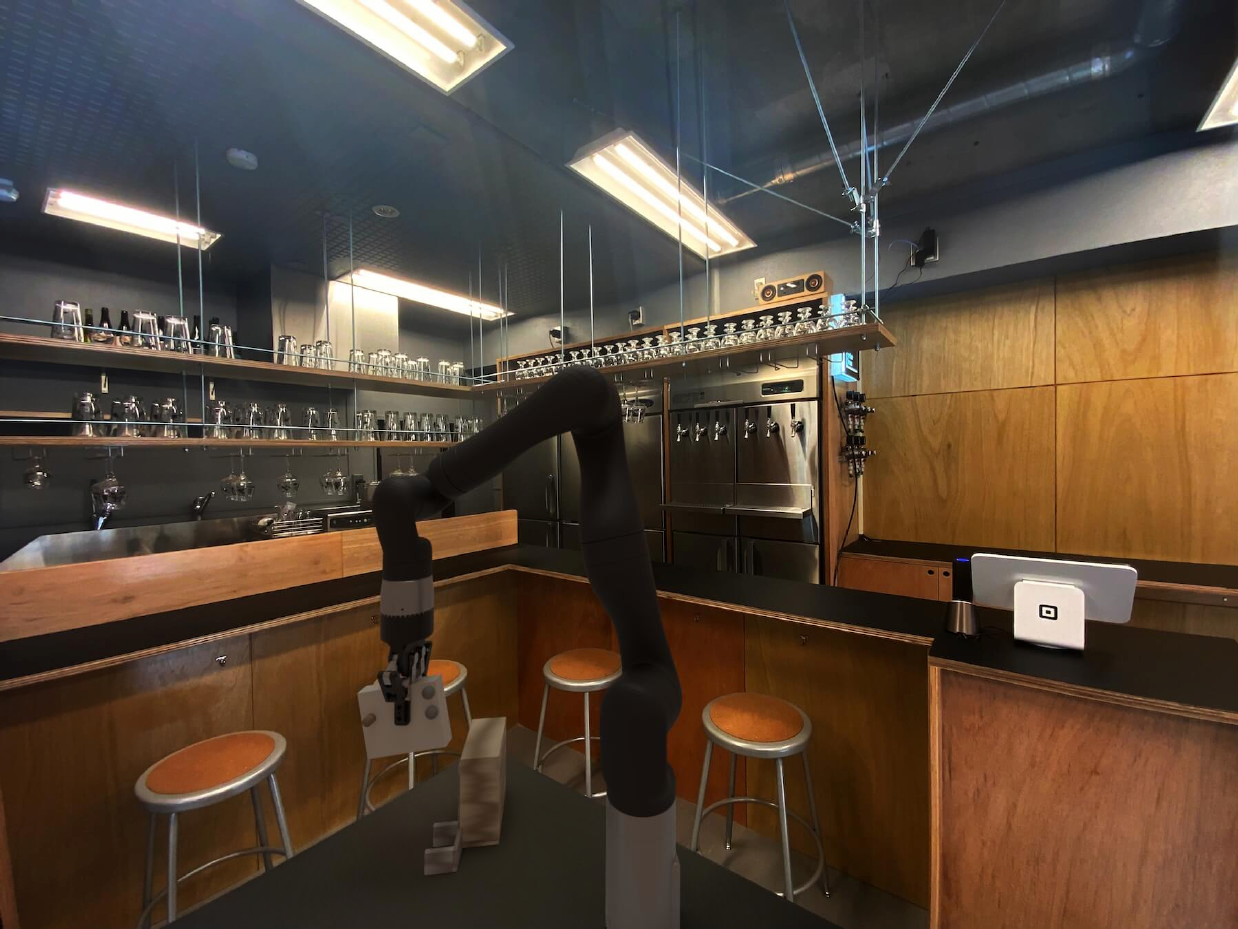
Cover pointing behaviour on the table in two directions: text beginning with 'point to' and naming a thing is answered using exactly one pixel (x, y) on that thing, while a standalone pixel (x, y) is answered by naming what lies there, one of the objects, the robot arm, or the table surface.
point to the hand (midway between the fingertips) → (407, 718)
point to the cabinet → (474, 797)
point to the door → (425, 724)
